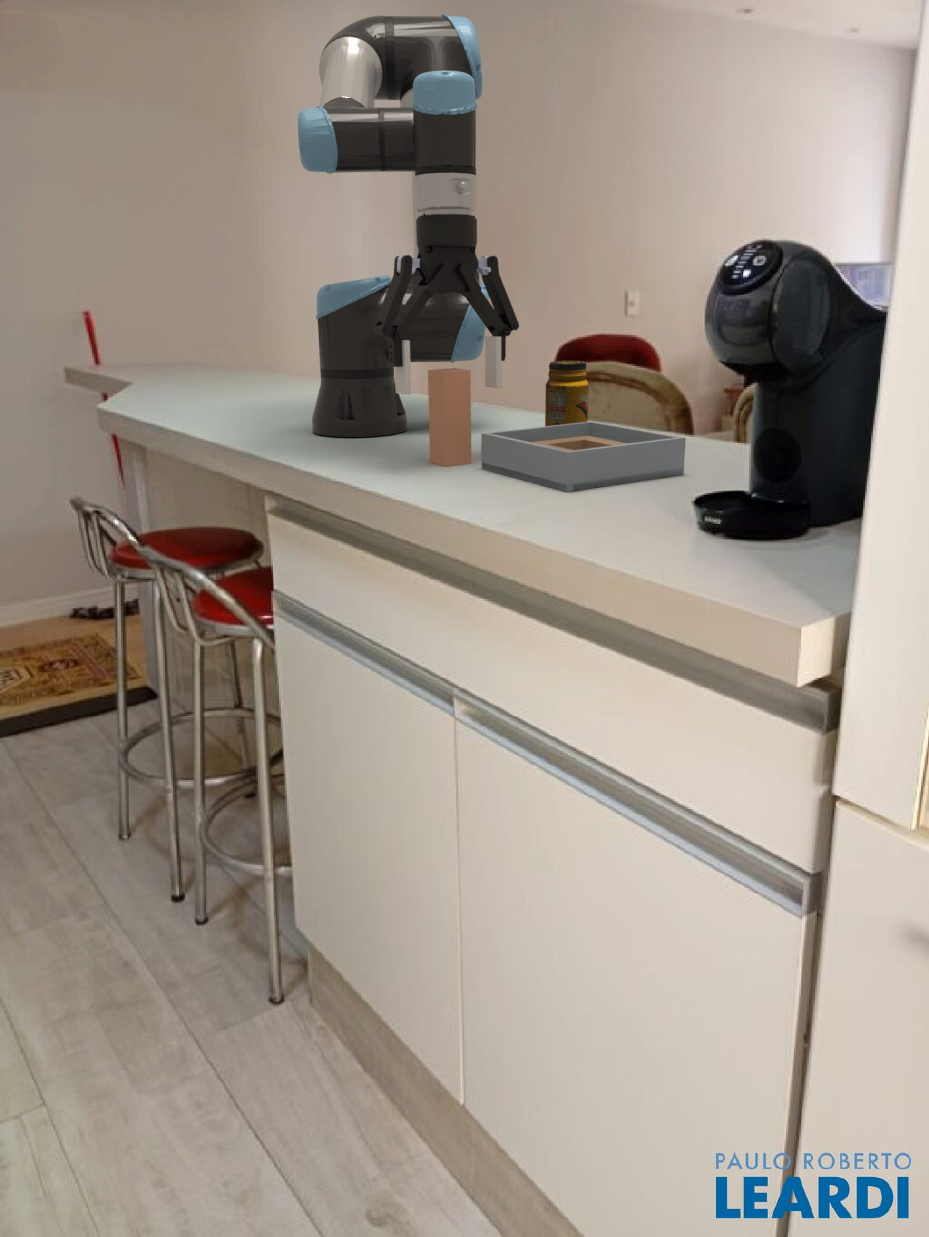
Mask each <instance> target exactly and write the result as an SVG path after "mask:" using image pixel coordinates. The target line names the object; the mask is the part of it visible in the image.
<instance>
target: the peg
mask: <svg viewBox="0 0 929 1237" xmlns="http://www.w3.org/2000/svg"><path fill="white" fill-rule="evenodd" d="M471 382H472V381H471V370H470V369H465V368H464V369H463V368H457V367H456V368H455V367H453V368H440V369H439V368H438V369H437V368H436V369H428V370H427V383H428V384H427V386H428V387H427V388H428V422H429V423H428V425H429V426H428V427H429V431H428V432H429V434H428V435H429V436H428V437H429V462H430V463H432V464H436V465H440V466H441V467H446V468H447V467H451V466H461V465H468V464H469V465H470V464H472V401H471V400H472V397H471V396H472V395H471V393H472V392H471V389H472V388H471V385H472V384H471Z"/></svg>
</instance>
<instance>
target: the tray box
mask: <svg viewBox="0 0 929 1237" xmlns="http://www.w3.org/2000/svg"><path fill="white" fill-rule="evenodd" d="M480 436H481V438H480V439H481V441H480V443H481V444H480V445H481V446H480V447H481V448H480V449H481V452H480V453H481V455H480V458H481V469H482V470H486V471H489V472H494V473H497V474H500V475H504V476H508V477H511V478H515V479H519V480H522V481H527V482H530V483H533V484H537V485H541V486H544V487H548V488H552V489H555V490H558V491H562V492H566V493H571V492H576V491H584V490H589V489H596V488H602V487H609V486H614V485H622V484H629V483H636V482H641V481H649V480H654V479H655V480H656V479H661V478H669V477H674V476H682V475H684V472H685V458H686V457H685V455H686V442H687V441H686V437H685V436H684V437H683V436H679V435H673V434H667V433H666V434H665V433H661V432H654V431H650V430H644V429H640V428H638V429H637V428H633V427H626V426H623V425H622V426H621V425H615V424H609V423H605V422H599V421H594V420H593V421H592V420H590V421H588V422H581V423H571V424H562V425H553V426H545V425H544V426H536V427H526V428H518V429H509V430H507V429H506V430H500V431H490V432H481V435H480Z"/></svg>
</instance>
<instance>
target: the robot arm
mask: <svg viewBox="0 0 929 1237" xmlns="http://www.w3.org/2000/svg"><path fill="white" fill-rule="evenodd" d="M318 73H319V79H320V83H321V86H322V88H321V93H320V99H319V105H318V106H316V107H308V108H303V109H301V110H299V113H298V116H297V137H298V150H299V159H300V162H301V165H302V167H303V168H304V170H306V171H307V172H314V173H315V172H316V173H317V172H318V173H327V174H328V175H329V174H330V175H331V174H334V173H336V174H337V173H376V172H377V173H380V172H381V173H382V172H384V173H385V172H387V173H392V172H394V173H396V172H397V173H399V172H401V173H402V172H407V173H408V172H411V182H412V183H411V189H412V216H413V217H412V219H413V220H412V222H413V223H412V224H413V251H414V252H413V254H414V257H412V256H411V255H409V254H406V255H404V254H403V255H397V256H395V258H394V261H393V262H394V263H393V274H392V277H391V275H380V276H374V277H368V278H360V279H355V280H348V281H342V282H335V283H330V284H329V283H328V284H325V285H323V286H321V287H320V289H319V290H318V291H317V293H316V294H317V295H316V315H315V319H316V320H317V329H318V351H319V352H318V353H319V366H320V367H319V369H320V385H319V389H318V393H317V397H316V400H315V405H314V410H313V414H312V419H311V421H312V422H311V424H312V425H311V426H312V433H313V434H315V435H321V436H325V437H327V436H328V437H341V438H342V437H343V438H350V437H351V438H357V437H358V438H363V437H366V438H367V437H375V436H376V437H379V436H387V435H388V436H390V435H394V434H399V433H403V432H405V431H407V430H408V419H407V418H408V417H407V413H406V410H405V407H404V405H403V401H402V398H401V395H412V379H411V378H412V375H411V374H412V373H411V368H412V367H411V363H446V362H447V363H451V364H453V363H456V362H465V361H466V362H468V361H474V360H477V359H478V358H479V357H480V356H481V354H482V352H483V350H484V351H485V352H484V359H485V360H484V363H485V364H484V366H485V367H484V370H485V375H484V378H485V381H484V382H485V384H484V385H485V387H486V388H491V389H492V388H493V389H494V388H495V389H500V388H502V362H505V360H506V357H507V354H506V350H507V348H506V347H507V345H506V344H507V342H506V340H507V337H509V336H510V335H511V334H512V332H513V331H517V330H519V328H520V324H519V321H518V319H517V318H518V317H517V315H516V313H515V311H514V308H513V306H512V303H511V301H510V298H509V295H508V293H507V291H506V288H505V285H504V283H503V281H502V278H501V275H500V269H499V259H498V257H497V256H496V255H486V256H485V255H484V256H481V257H480V258H478V257H477V254H476V248H477V244H478V218H476V216H475V215H472V214H473V212H474V211H476V210H477V168H476V167H477V164H476V163H477V160H476V159H477V156H476V155H477V108H478V102H477V100H479V99H480V98H481V96H482V93H483V71H482V57H481V48H480V44H479V38H478V33H477V30H476V27H475V24H474V23H473V22H472V21H471V19H469V18H468V17H466V16H455V15H454V16H453V15H449V14H447V13H446V14H445V13H444V14H442V15H441V16H440V15H439V16H438V15H437V16H436V15H435V16H431V15H430V16H429V15H428V16H427V15H426V16H425V15H423V16H422V15H414V16H413V15H410V16H409V15H404V16H403V15H388V16H387V15H374V16H367V17H365V18H362V19H359V20H356V21H355V22H352V23H351V24H348V25H346V26H345V27H343V28H342V29H341V30H339V31H337V33H335V34H334V35H333V36H332V37H331V38H330V39H329V40H328V42H327V43H326V45H325V46H324V48H323V49H322V52H321V55H320V60H319V65H318ZM377 100H380V101H382V100H383V101H384V100H385V101H399V105H400V106H399V107H376V105H375V104H376V103H375V102H376V101H377ZM480 275H481V279H482V281H481V282H480ZM489 300H490V301H489ZM490 302H491V303H490ZM486 329H487V331H488V332H489V333H490V335H487V336H486V335H485V334H486ZM483 348H484V349H483Z"/></svg>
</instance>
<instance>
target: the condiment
mask: <svg viewBox="0 0 929 1237" xmlns="http://www.w3.org/2000/svg"><path fill="white" fill-rule="evenodd" d="M548 369H549V370H548V375H547V376H548V380H547V382H546V383H545V402H544V403H545V408H544V409H545V413H544V414H545V415H544V416H545V418H544V419H545V420H544V424H545V425H544V426H553V425H562V424H571V423H581V422H589V421H588V420H589V415H588V414H589V413H588V412H589V390H590V389H589V385H590V384H589V381H587V363H586V362H585V361H582V360H554V361H551V362H550V363H549V365H548Z"/></svg>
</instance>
